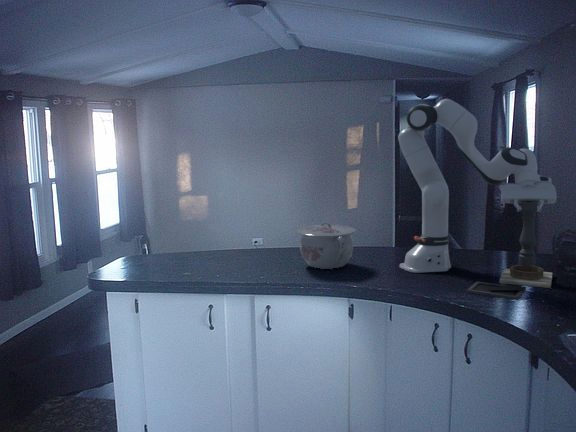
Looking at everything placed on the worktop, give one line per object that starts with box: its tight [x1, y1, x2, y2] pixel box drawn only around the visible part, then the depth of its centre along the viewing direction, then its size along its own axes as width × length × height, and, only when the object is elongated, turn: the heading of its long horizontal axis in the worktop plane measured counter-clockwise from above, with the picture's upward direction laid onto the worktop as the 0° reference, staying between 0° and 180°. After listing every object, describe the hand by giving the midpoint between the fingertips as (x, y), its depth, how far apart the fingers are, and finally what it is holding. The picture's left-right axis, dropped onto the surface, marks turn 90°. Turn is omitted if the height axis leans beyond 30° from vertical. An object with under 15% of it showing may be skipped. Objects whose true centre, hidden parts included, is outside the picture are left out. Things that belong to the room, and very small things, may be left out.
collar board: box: [499, 264, 553, 289], centre depth 213 cm, size 18×18×4 cm
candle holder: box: [518, 201, 538, 266], centre depth 210 cm, size 6×6×25 cm
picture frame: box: [465, 281, 527, 301], centre depth 199 cm, size 13×2×18 cm
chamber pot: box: [295, 221, 358, 270], centre depth 242 cm, size 28×28×21 cm
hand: (529, 210), depth 208 cm, fingers closed on candle holder, 5 cm apart
